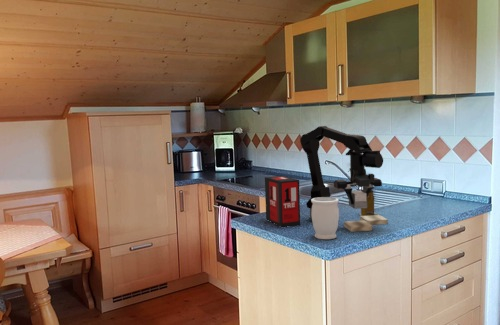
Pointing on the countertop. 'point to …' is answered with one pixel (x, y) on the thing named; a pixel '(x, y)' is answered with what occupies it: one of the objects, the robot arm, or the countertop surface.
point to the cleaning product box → (282, 200)
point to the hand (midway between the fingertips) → (357, 203)
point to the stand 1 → (357, 226)
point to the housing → (358, 200)
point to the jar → (325, 217)
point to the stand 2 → (374, 219)
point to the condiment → (369, 206)
